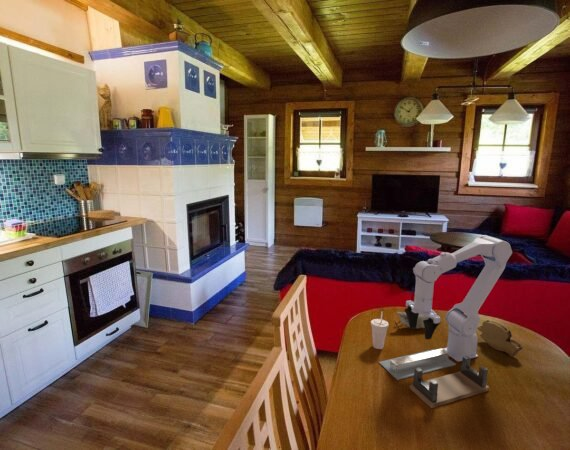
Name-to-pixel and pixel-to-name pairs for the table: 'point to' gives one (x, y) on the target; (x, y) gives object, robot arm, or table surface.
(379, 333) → the smoothie
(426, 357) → the rail
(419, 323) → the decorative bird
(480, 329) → the wooden carving
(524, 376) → the table surface
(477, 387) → the rack
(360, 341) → the table surface
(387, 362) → the mat
